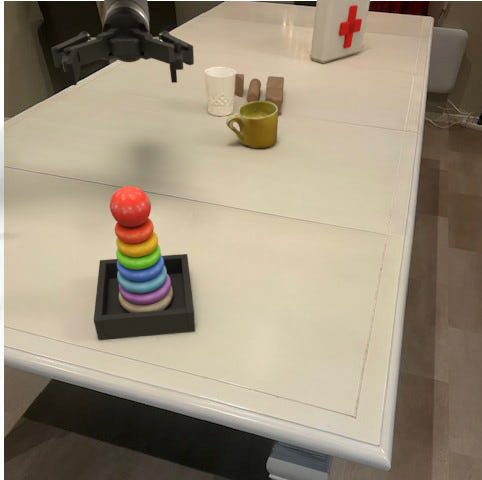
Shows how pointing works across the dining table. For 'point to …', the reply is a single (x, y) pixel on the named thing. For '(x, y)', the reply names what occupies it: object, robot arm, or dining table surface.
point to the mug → (256, 124)
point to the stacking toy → (138, 254)
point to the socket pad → (151, 322)
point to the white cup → (220, 90)
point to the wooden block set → (272, 90)
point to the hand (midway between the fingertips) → (123, 73)
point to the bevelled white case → (338, 29)
